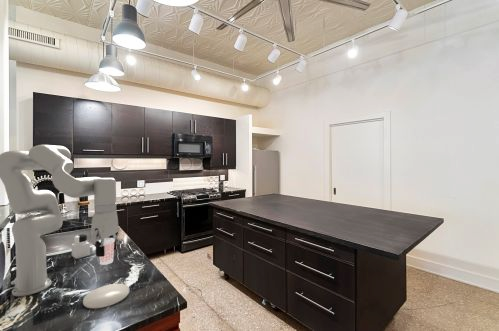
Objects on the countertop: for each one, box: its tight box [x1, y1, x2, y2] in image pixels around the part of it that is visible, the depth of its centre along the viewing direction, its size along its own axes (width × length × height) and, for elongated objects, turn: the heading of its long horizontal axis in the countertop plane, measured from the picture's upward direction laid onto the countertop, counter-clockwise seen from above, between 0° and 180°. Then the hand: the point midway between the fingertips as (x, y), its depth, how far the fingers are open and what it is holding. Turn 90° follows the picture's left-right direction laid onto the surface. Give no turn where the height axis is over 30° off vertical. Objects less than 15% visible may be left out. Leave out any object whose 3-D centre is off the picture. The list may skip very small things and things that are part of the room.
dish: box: [82, 283, 130, 309], centre depth 95 cm, size 16×16×1 cm
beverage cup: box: [98, 237, 115, 266], centre depth 95 cm, size 6×6×14 cm
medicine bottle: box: [71, 233, 91, 260], centre depth 137 cm, size 7×7×12 cm
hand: (106, 252), depth 95 cm, fingers closed on beverage cup, 6 cm apart
